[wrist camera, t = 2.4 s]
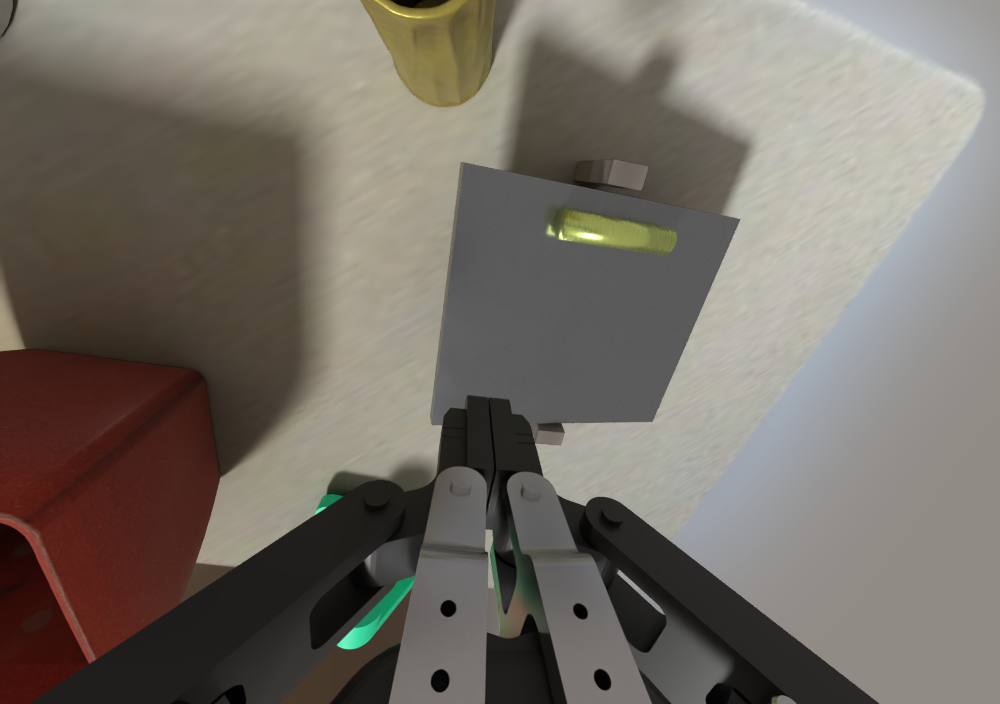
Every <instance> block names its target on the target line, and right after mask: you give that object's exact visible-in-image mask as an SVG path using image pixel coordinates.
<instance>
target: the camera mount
mask: <svg viewBox="0 0 1000 704" xmlns="http://www.w3.org/2000/svg"><path fill="white" fill-rule="evenodd" d="M342 497H343V496H341V495H334V494H329V495H325V496H324V497H323V498H322V499H321V502H320V504H319V506H318V509H317V511H316V514H317V513H319V512H320V511H322V510H323V509H325V508H326V507H328V506H330V505H331V504H333V503H334V502H336V501H337V500H339V499H340V498H342ZM316 514H315V515H316ZM414 579H415V576H414V577H410V578H407V579H404V580H400V581H397V583H396V585H395V586H394V588H393V589H392V590H391V591H390V592H389V593H388V594H387V595H386V596H385V597H384V598H383V599H382V600H381V601H380V602H379V603H378V604H377V605H376V606H375V607H374V608H373V609H372V610H371V611H370V612H369V613H368V614H367V615H366V616H365V617H364V618H363V619H362V620H361V621H360V622H359V623H358V624H357V625H356V626H355V627H354V628H353V629H352V630H351V631H350V632H349V633H348V634H347V635H346V636H345V637H344V638H343V639H342V640H341V641H340V642H339V643H338V644H337V646H339V647H341V648H344V649H355V648H358V647H360V646H362V645H364V644H365V643H367V642H368V641H369V640H370V639H371V638H372V636H373V635H374V634H375V633H376V631H377V630H378V629H379V628H380V626H381V625H382V624H383V623H384V621H385V620H386V619H387V618H388V616H389V615H390V614H391V613H392V611H393V610H394V609H395V608H396V606H397V605H398V604H399V603H400V601H401V600H402V599H403V598H404V596H405V595H406V594H407V593H408V591H409V590H410V589H411V588H412V586H413V583H414Z"/></svg>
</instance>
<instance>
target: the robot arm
mask: <svg viewBox="0 0 1000 704" xmlns="http://www.w3.org/2000/svg"><path fill="white" fill-rule="evenodd" d="M12 9H13V0H0V37H1V35H2V34H3V32H4V31H5V29H6V28H7V26H8V24H9V20H10V16H11V13H12ZM485 529H489V530H493V542H492V546H491V551H490V558H491V565H492V572H493V580H494V587H495V594H496V601H497V608H498V615H499V624H500V634H499V636H496V635H493V634H490V633H487V596H488V594H487V593H488V553H487V552H485ZM618 570H620V571H622V572H623V573H624V574H625V575H626V576H627V577H628V578H629V579H630V580H632V581H633V582H634V583H635V584H636V585H637V586H638V587H639V588H640V589H641V590H643V591H644V592H645V593H646V594H647V595H648V596H649V597H650V598H651V599H653V600H654V601H655V602H656V603H657V604H658V605H659V606H660V607H661V609H662V610H663V612H664V613H665V615H663V614H661V613H660V612H658V611H657V610H656V609H655V608H654V607H653V606H652V605H651V604H649V603H648V602H647V601H646V600H645V599H644V598H643V597H642V596H641V595H640V594H639V593H638V592H637V591H635V590H634V589H633V588H632V587H631V586H630V585H629V584H628V583H627V582H626V581H625V580H623V579H622V578H621V577H620V576H619V575H618V574H617V572H618ZM414 576H415V579H414V583H413V588H412V593H411V598H410V603H409V608H408V612H407V617H406V622H405V627H404V632H403V637H402V642H401V643H399V644H397V645H395V646H393V647H390V648H388V649H387V650H385V651H383V652H382V653H380V654H378V655H377V656H376V657H374V658H373V659H372V660H370V661H369V662H368V663H366V664H365V665H364V666H363V667H362V668H361V669H360V670H359V671H358V672H357V673H356V674H355V675H354V676H353V677H352V678H351V679H350V680H349V681H348V683H347V684H346V685H345V686H344V687H343V688H342V690H341V691H340V692H339V693H338V695H337V696H336V697H335V698H334V699H333V700H332V702H331V703H330V704H879V703H878V702H876V701H875V700H874V699H872V698H871V697H870V696H869V695H867V694H866V693H865V692H864V691H862V690H861V689H860V688H858V687H857V686H856V685H855V684H853V683H852V682H851V681H849V680H848V679H847V678H846V677H844V676H843V675H842V674H840V673H839V672H838V671H837V670H835V669H834V668H833V667H831V666H830V665H829V664H827V663H826V662H825V661H824V660H822V659H821V658H820V657H819V656H817V655H816V654H815V653H813V652H812V651H811V650H810V649H808V648H807V647H806V646H804V645H803V644H802V643H800V642H799V641H798V640H797V639H795V638H794V637H793V636H791V635H790V634H788V632H786V631H785V630H784V629H782V628H781V627H780V626H779V625H777V624H776V623H775V622H773V621H772V620H771V619H770V618H768V617H767V616H766V615H764V614H763V613H762V612H760V611H759V610H758V609H757V608H755V607H754V606H753V605H751V604H750V603H749V602H748V601H746V600H745V599H744V598H743V597H741V596H740V595H739V594H737V593H736V592H735V591H733V590H732V589H731V588H730V587H728V586H727V585H726V584H725V583H723V582H722V581H721V580H719V579H718V578H717V577H715V576H714V575H713V574H712V573H710V572H709V571H708V570H706V569H705V568H704V567H703V566H701V565H700V564H699V563H697V562H696V561H695V560H694V559H692V558H691V557H690V556H688V555H687V554H686V553H684V552H683V551H682V550H681V549H679V548H678V547H677V546H676V545H674V544H673V543H672V542H670V541H669V540H668V539H667V538H665V537H664V536H663V535H661V534H660V533H659V532H658V531H656V530H655V529H654V528H652V527H651V526H650V525H649V524H647V523H646V522H645V521H643V520H642V519H641V518H640V517H638V516H637V515H636V514H634V513H633V512H632V511H630V510H629V509H628V508H627V507H625V506H624V505H623V504H621V503H620V502H618V501H616V500H613V499H611V498H607V497H595V498H593V499H591V500H590V501H589V502H588V503H587V505H586V506H583V505H580V504H577V503H574V502H571V501H569V500H566V499H564V498H562V497H560V496H558V495H557V494H556V491H555V489H554V487H553V485H552V484H551V483H550V482H549V481H548V480H547V479H546V478H544V477H543V473H542V469H541V465H540V461H539V457H538V453H537V449H536V446H535V441H534V437H533V433H532V429H531V425H530V423H529V422H528V421H527V420H526V419H525V417H524V416H523V415H519V414H512V411H511V405H510V400H509V399H502V398H492V397H483V396H473V395H467V396H466V401H465V407H464V409H460V408H450V409H449V410H448V411H447V412H446V414H445V415H444V417H443V424H442V431H441V438H440V446H439V454H438V464H437V473H436V477H435V479H434V480H433V481H432V482H431V483H430V484H428V485H427V486H425V487H423V488H420V489H417V490H412V491H407V492H404V491H403V490H402V488H401V487H400V486H398V485H397V484H395V483H393V482H390V481H385V480H375V481H370V482H367V483H364V484H362V485H360V486H358V487H357V488H355V489H354V490H352V491H351V492H349V493H348V494H346V495H345V496H343V497H342V498H340V499H339V500H337V501H336V502H334V503H333V504H331V505H330V506H328V507H326V508H325V509H323V510H322V511H320V512H319V513H317V514H316V515H314V516H313V517H311V518H310V519H308V520H307V521H305V522H304V523H302V524H301V525H299V526H298V527H296V528H295V529H293V530H292V531H290V532H289V533H287V534H286V535H284V536H283V537H281V538H279V539H278V540H276V541H275V542H273V543H272V544H270V545H269V546H267V547H266V548H264V549H263V550H261V551H260V552H258V553H257V554H255V555H254V556H252V557H251V558H249V559H248V560H246V561H245V562H243V563H242V564H240V565H239V566H237V567H236V568H234V569H233V570H231V571H229V572H228V573H227V574H225V575H223V576H222V577H220V578H219V579H217V580H216V581H215V582H213V583H211V584H210V585H208V586H207V587H205V588H204V589H202V590H201V591H199V592H198V593H196V594H195V595H193V596H192V597H190V598H188V599H187V600H185V601H184V602H182V603H181V604H179V605H178V606H176V607H175V608H173V609H172V610H170V611H169V612H167V613H166V614H164V615H163V616H161V617H160V618H158V619H157V620H155V621H154V622H152V623H151V624H149V625H148V626H146V627H145V628H143V629H141V630H140V631H138V632H137V633H135V634H134V635H132V636H131V637H129V638H128V639H126V640H125V641H123V642H122V643H120V644H119V645H117V646H116V647H114V648H113V649H111V650H110V651H108V652H107V653H105V654H104V655H102V656H101V657H99V658H98V659H96V660H94V661H93V662H91V663H90V664H88V665H87V666H85V667H84V668H82V669H81V670H79V671H78V672H76V673H75V674H73V675H72V676H70V677H69V678H67V679H66V680H64V681H63V682H61V683H60V684H58V685H57V686H55V687H54V688H52V689H51V690H49V691H47V692H46V693H44V694H43V695H41V696H40V697H38V698H37V699H35V700H34V701H32V702H31V703H29V704H279V703H280V702H281V701H282V700H283V699H284V698H285V697H286V696H287V695H288V694H289V693H290V692H291V691H292V690H293V689H294V688H295V687H296V686H297V685H298V684H299V683H300V682H301V681H302V680H303V679H304V678H305V677H306V676H307V675H308V674H309V673H310V672H311V670H312V669H314V667H316V666H317V665H318V664H319V662H320V661H321V660H322V659H324V658H325V657H326V656H327V655H328V653H329V652H330V651H331V650H332V649H333V648H334V647H335V646H336V645H337V644H338V643H339V642H340V641H341V640H342V639H343V638H344V637H345V636H346V635H347V634H348V633H349V632H350V631H351V630H352V629H353V628H354V627H355V626H356V625H357V624H358V623H359V622H360V621H361V620H362V619H363V618H364V617H365V616H366V615H367V614H368V613H369V612H370V611H371V610H372V609H373V608H374V607H375V606H376V605H377V604H378V603H379V602H380V601H381V600H382V599H383V598H384V597H385V596H386V595H387V594H388V593H389V592H390V591H391V590H392V589H393V588H394V586H395V585H396V583H397V581H400V580H404V579H407V578H410V577H414Z"/></svg>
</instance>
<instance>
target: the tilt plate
mask: <svg viewBox="0 0 1000 704" xmlns="http://www.w3.org/2000/svg"><path fill="white" fill-rule="evenodd" d="M739 221H740V219H737V218H732V217H727V216H722V215H717V214H712V213H708V212H703V211H698V210H693V209H688V208H683V207H678V206H673V205H669V204H664V203H659V202H654V201H649V200H644V199H639V198H634V197H629V196H625V195H620V194H615V193H610V192H605V191H600V190H595V189H590V188H586V187H581V186H576V185H571V184H566V183H561V182H556V181H551V180H546V179H542V178H537V177H532V176H527V175H522V174H517V173H512V172H507V171H503V170H498V169H493V168H488V167H483V166H478V165H473V164H468V163H463V162H461V165H460V173H459V181H458V190H457V198H456V206H455V215H454V223H453V231H452V240H451V248H450V256H449V264H448V273H447V281H446V289H445V298H444V306H443V314H442V323H441V331H440V339H439V348H438V356H437V364H436V372H435V381H434V389H433V397H432V406H431V414H430V418H431V424H432V425H442V424H443V417H444V415H445V414H446V412H447V411H448V410H449V409H450V408H460V409H464V407H465V401H466V396H467V395H473V396H483V397H492V398H502V399H509V400H510V405H511V411H512V414H519V415H523V416H524V417H525V419H526V420H527V421H528V422H529V423H530V424H537V423H604V422H652V421H653V419H654V417H655V415H656V412H657V410H658V408H659V405H660V403H661V401H662V398H663V396H664V394H665V392H666V389H667V387H668V385H669V382H670V380H671V378H672V375H673V373H674V371H675V369H676V366H677V364H678V362H679V359H680V357H681V355H682V352H683V350H684V348H685V346H686V343H687V341H688V339H689V336H690V334H691V332H692V329H693V327H694V325H695V322H696V320H697V318H698V316H699V313H700V311H701V309H702V306H703V304H704V302H705V299H706V297H707V295H708V293H709V290H710V288H711V286H712V283H713V281H714V279H715V276H716V274H717V272H718V270H719V267H720V265H721V263H722V260H723V258H724V256H725V253H726V251H727V249H728V247H729V244H730V242H731V240H732V237H733V235H734V233H735V230H736V228H737V226H738V224H739Z"/></svg>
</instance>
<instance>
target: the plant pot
mask: <svg viewBox="0 0 1000 704" xmlns="http://www.w3.org/2000/svg"><path fill="white" fill-rule="evenodd" d="M219 480H220V474H219V467H218V461H217V454H216V447H215V440H214V433H213V427H212V420H211V413H210V406H209V400H208V393H207V386H206V381H205V379H204V377H203V376H202V375H201V374H200V373H198V372H196V371H194V370H190V369H184V368H176V367H168V366H161V365H153V364H145V363H137V362H129V361H122V360H114V359H107V358H99V357H92V356H84V355H76V354H69V353H61V352H54V351H46V350H38V349H22V350H10V351H0V704H29V703H31V702H32V701H34V700H35V699H37V698H38V697H40V696H41V695H43V694H44V693H46V692H47V691H49V690H51V689H52V688H54V687H55V686H57V685H58V684H60V683H61V682H63V681H64V680H66V679H67V678H69V677H70V676H72V675H73V674H75V673H76V672H78V671H79V670H81V669H82V668H84V667H85V666H87V665H88V664H90V663H91V662H93V661H94V660H96V659H98V658H99V657H101V656H102V655H104V654H105V653H107V652H108V651H110V650H111V649H113V648H114V647H116V646H117V645H119V644H120V643H122V642H123V641H125V640H126V639H128V638H129V637H131V636H132V635H134V634H135V633H137V632H138V631H140V630H141V629H143V628H145V627H146V626H148V625H149V624H151V623H152V622H154V621H155V620H157V619H158V618H160V617H161V616H163V615H164V614H166V613H167V612H169V611H170V610H172V609H173V608H175V607H176V606H178V605H179V604H180V602H181V600H182V597H183V595H184V592H185V589H186V587H187V585H188V582H189V579H190V576H191V574H192V571H193V568H194V566H195V563H196V560H197V557H198V554H199V551H200V548H201V545H202V542H203V539H204V536H205V533H206V529H207V526H208V523H209V519H210V516H211V512H212V509H213V505H214V501H215V497H216V493H217V489H218V485H219Z"/></svg>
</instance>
